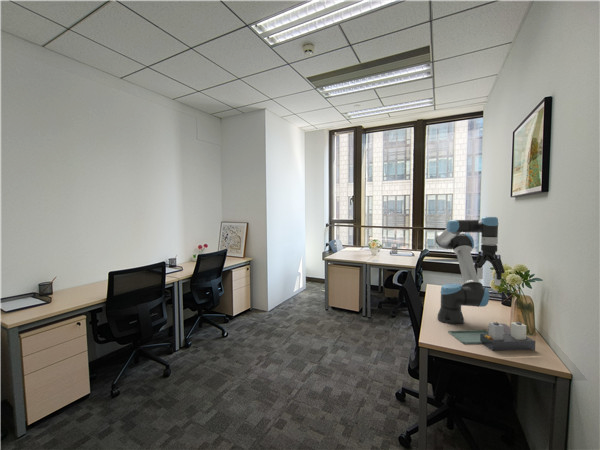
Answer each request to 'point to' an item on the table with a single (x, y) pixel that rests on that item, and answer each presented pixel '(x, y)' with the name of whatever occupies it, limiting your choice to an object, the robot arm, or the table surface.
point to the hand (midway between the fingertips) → (488, 282)
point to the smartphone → (506, 328)
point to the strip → (507, 343)
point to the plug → (518, 330)
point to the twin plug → (496, 331)
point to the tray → (468, 336)
